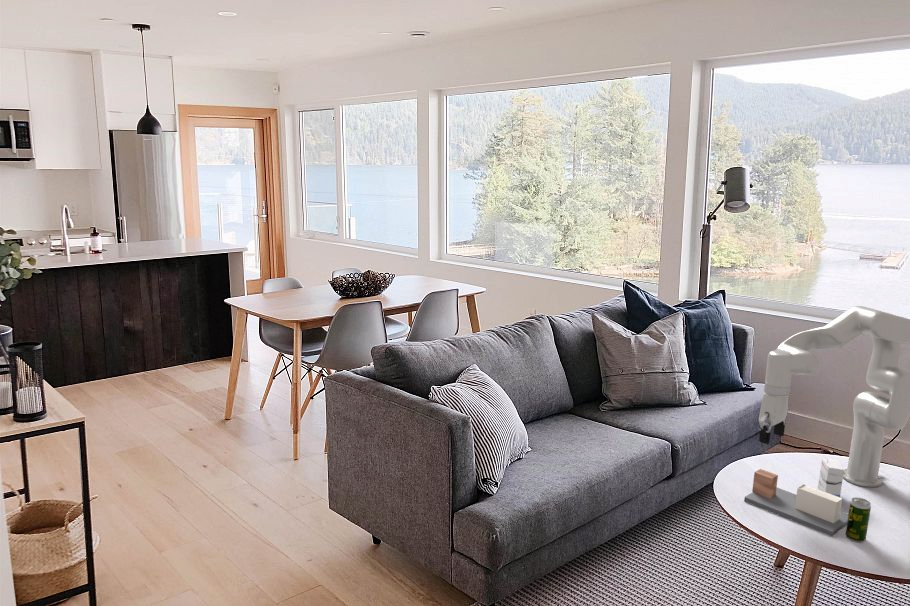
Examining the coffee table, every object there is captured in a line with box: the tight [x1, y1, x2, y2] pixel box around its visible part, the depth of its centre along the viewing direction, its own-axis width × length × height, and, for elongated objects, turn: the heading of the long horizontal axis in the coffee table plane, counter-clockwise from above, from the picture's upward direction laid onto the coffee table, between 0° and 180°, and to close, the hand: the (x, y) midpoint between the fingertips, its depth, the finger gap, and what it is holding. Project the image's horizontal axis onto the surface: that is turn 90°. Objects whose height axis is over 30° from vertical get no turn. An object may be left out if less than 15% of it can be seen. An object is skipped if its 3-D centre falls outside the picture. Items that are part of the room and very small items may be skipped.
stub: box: [751, 468, 779, 498], centre depth 243 cm, size 4×6×7 cm, turn 41°
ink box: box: [817, 457, 845, 498], centre depth 245 cm, size 8×5×12 cm, turn 168°
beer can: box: [845, 497, 872, 544], centre depth 219 cm, size 5×5×12 cm
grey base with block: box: [743, 484, 849, 537], centre depth 235 cm, size 15×28×9 cm, turn 41°
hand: (771, 438), depth 240 cm, fingers open, 9 cm apart
